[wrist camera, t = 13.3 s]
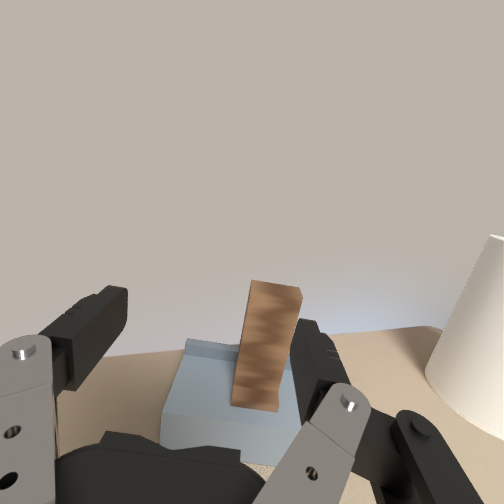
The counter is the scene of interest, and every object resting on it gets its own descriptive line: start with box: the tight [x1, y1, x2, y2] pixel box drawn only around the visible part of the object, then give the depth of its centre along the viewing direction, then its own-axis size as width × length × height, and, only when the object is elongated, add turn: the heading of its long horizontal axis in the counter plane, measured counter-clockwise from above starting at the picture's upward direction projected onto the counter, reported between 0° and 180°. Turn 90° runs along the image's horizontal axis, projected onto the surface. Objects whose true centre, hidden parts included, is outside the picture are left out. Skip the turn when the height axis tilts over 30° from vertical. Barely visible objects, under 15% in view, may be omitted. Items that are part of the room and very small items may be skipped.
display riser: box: [159, 339, 302, 466], centre depth 33 cm, size 20×10×8 cm, turn 89°
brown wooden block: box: [230, 280, 303, 413], centre depth 30 cm, size 6×6×14 cm
